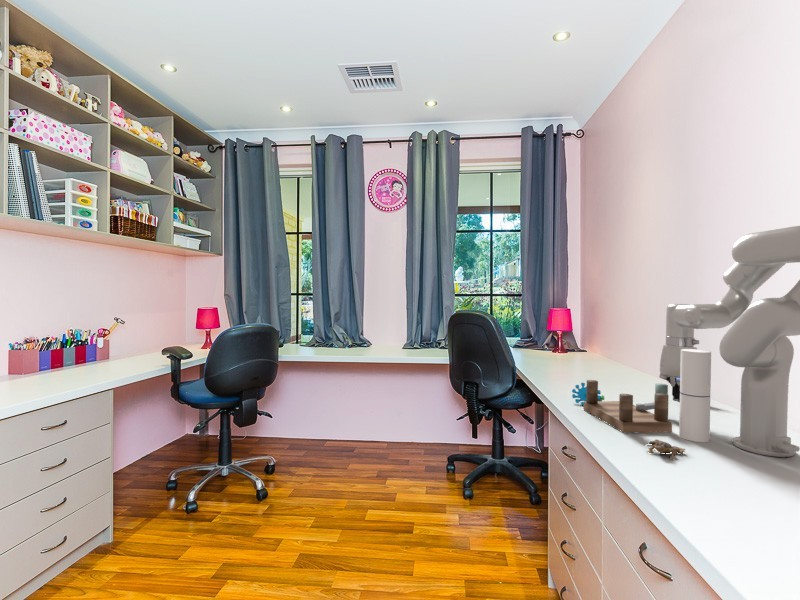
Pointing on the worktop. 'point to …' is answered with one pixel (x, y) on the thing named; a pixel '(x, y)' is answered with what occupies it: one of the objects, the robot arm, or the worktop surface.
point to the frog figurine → (665, 448)
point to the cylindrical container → (695, 395)
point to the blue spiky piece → (583, 394)
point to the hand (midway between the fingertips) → (678, 398)
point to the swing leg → (642, 407)
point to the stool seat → (628, 412)
